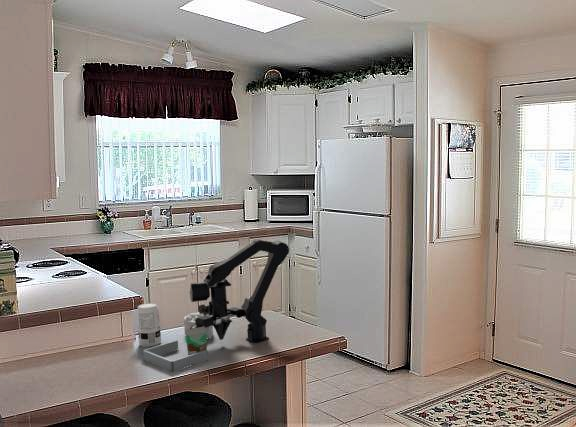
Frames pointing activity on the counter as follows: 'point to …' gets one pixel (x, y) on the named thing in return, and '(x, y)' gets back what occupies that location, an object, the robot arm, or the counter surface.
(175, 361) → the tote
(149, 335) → the supplement can
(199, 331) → the food container
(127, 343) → the counter surface
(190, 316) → the lumpy-topped squat cylinder
